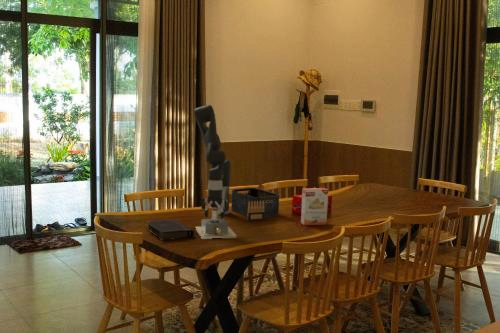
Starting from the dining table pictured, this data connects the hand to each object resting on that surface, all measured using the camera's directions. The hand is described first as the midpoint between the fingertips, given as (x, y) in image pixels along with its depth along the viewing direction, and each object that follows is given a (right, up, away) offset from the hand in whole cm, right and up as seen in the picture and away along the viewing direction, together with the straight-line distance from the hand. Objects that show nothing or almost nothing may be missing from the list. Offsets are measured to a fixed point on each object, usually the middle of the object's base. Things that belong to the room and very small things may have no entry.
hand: (214, 217), depth 302 cm
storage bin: (+22, -2, +50) cm, 54 cm away
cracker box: (+56, -6, +24) cm, 61 cm away
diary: (-24, -8, -4) cm, 26 cm away
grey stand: (+1, -8, -2) cm, 8 cm away
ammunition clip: (+22, -4, +29) cm, 37 cm away
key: (0, -6, +1) cm, 6 cm away
